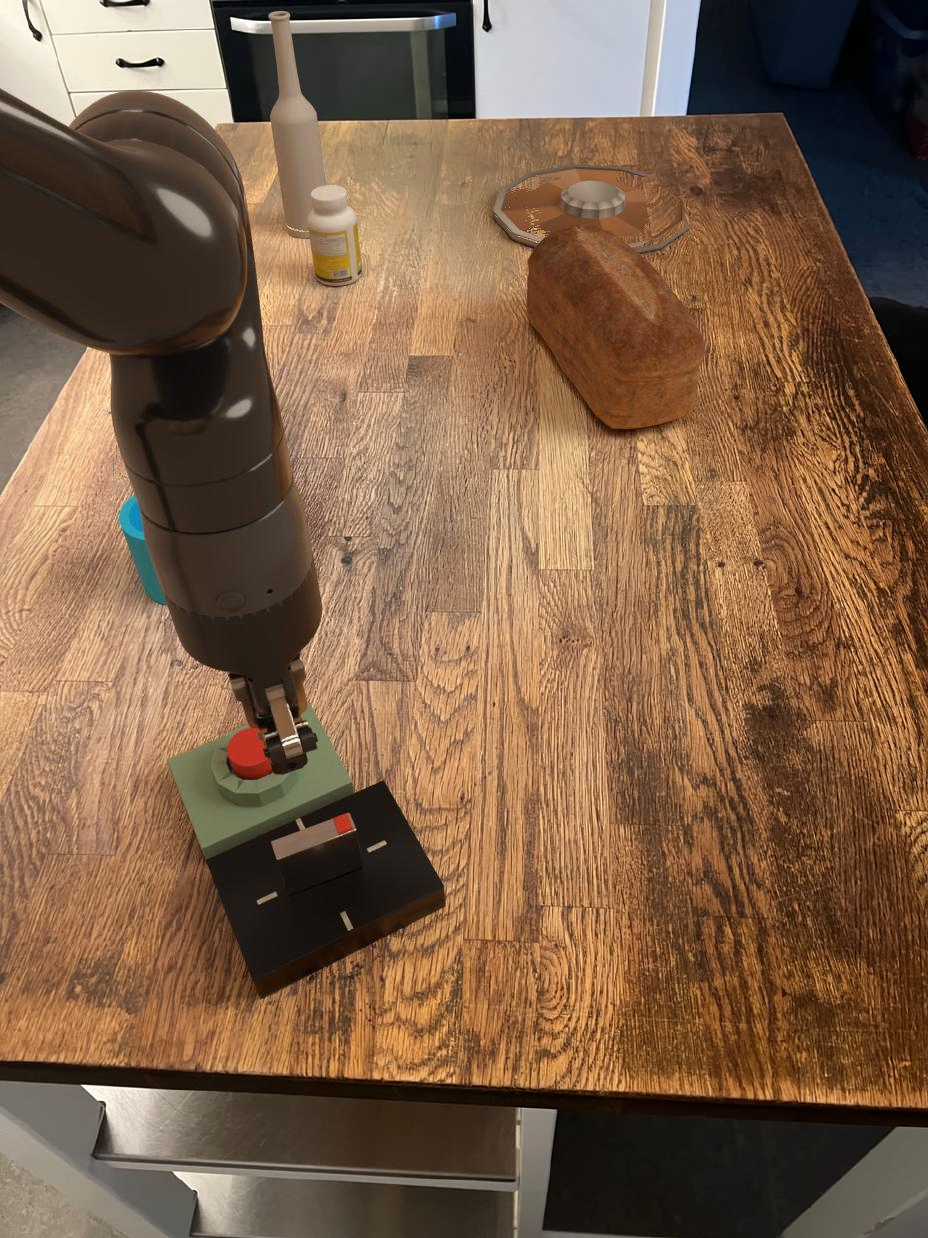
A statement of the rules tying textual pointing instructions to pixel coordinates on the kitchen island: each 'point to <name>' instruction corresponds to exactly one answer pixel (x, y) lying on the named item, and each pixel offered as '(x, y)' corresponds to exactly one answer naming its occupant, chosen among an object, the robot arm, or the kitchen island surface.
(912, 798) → the kitchen island surface
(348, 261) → the pill bottle
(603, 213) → the shield
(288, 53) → the bottle
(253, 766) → the button
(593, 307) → the bread
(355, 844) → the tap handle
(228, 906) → the base
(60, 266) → the robot arm
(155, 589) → the mug
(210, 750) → the block
